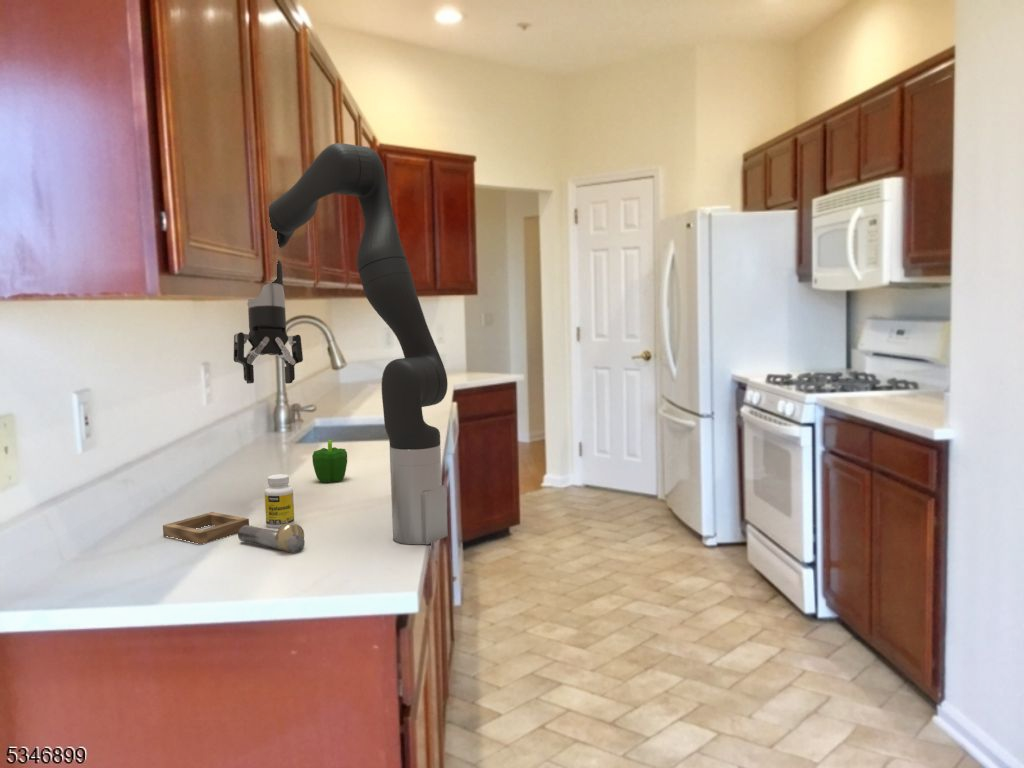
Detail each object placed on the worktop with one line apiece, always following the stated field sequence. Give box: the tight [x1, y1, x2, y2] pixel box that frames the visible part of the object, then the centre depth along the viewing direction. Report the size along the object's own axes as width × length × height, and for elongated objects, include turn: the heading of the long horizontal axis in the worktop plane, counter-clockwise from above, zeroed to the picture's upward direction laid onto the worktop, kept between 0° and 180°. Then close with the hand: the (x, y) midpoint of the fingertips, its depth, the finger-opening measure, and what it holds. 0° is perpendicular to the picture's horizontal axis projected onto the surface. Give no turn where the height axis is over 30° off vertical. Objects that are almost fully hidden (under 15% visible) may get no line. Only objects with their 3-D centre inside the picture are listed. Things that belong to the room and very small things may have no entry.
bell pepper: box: [311, 439, 348, 483], centre depth 194 cm, size 8×8×10 cm
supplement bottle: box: [264, 473, 295, 529], centre depth 155 cm, size 5×5×10 cm
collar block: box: [162, 511, 250, 545], centre depth 150 cm, size 11×11×2 cm
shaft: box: [237, 523, 306, 554], centre depth 140 cm, size 14×5×5 cm, turn 58°
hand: (270, 383), depth 165 cm, fingers open, 8 cm apart
